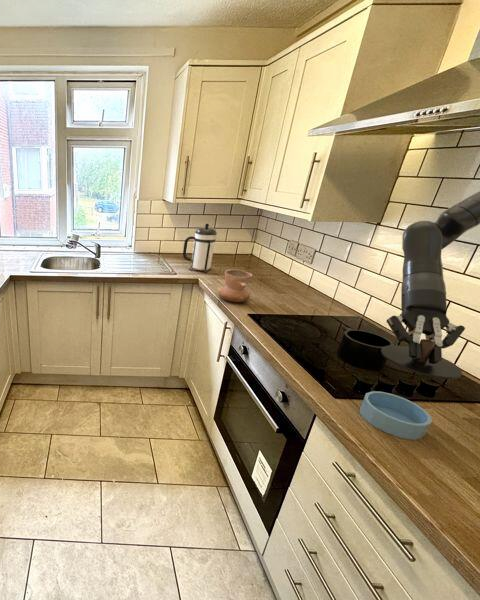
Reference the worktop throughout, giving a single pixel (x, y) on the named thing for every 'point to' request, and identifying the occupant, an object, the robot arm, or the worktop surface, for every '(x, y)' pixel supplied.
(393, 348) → the lid
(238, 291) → the ceramic jug
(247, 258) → the worktop surface
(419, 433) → the blue round dish
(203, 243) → the coffee press
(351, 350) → the pot
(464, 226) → the robot arm
